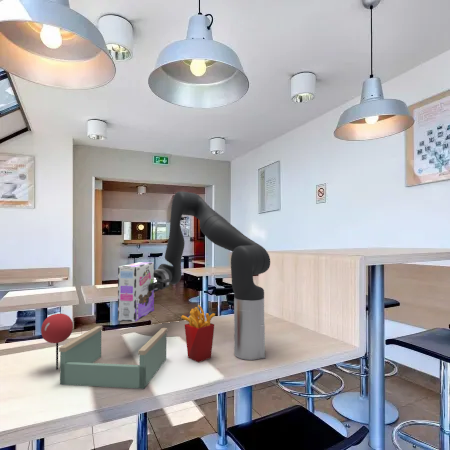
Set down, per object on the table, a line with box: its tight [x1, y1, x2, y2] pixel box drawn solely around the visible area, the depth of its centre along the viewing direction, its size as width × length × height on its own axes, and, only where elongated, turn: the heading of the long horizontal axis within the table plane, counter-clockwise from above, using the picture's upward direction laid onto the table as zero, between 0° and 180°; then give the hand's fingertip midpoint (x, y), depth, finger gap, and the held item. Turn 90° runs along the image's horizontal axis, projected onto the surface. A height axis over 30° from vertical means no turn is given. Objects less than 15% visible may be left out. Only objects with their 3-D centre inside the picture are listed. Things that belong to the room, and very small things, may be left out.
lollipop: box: [40, 313, 74, 370], centre depth 86 cm, size 8×8×15 cm
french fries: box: [180, 304, 216, 363], centre depth 94 cm, size 9×8×15 cm
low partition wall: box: [58, 325, 168, 390], centre depth 85 cm, size 22×18×9 cm
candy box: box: [117, 261, 155, 323], centre depth 99 cm, size 14×6×16 cm, turn 169°
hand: (139, 287), depth 101 cm, fingers closed on candy box, 6 cm apart
